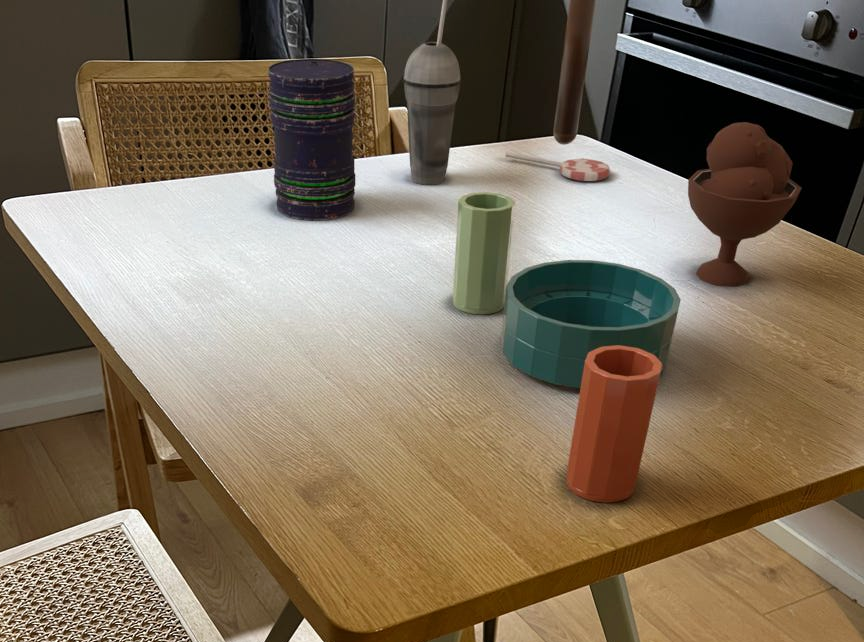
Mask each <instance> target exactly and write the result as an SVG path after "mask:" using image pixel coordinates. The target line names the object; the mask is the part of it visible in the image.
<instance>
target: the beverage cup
mask: <svg viewBox="0 0 864 642" xmlns="http://www.w3.org/2000/svg"><path fill="white" fill-rule="evenodd" d="M447 6H448V0H442V5H441V10H440V11H441V12H440V19H439V24H438V32H437V40H436V41H427V42H424V43H422V44H420V45H419V46H417V47H416V48H415V49H414V50H413V51H411V54H410V55H409V57H408V58H407V61H406V64H405V67H404V74H403V78H402V82H403V86H404V87H403V89H404V97H405V101H406V109H407V111H406V113H407V130H408V131H407V132H408V133H407V134H408V150H409V151H408V153H409V168H410V181H412V182H413V183H415V184H419V185H425V186H427V185H428V186H432V185H440V184H442V183H444V182H445V181H446V175H447V170H448V167H449V159H450V151H451V150H450V149H451V143H452V135H453V129H454V120H455V112H456V103H457V100H458V97H459V93H460V87H461V85H460V84H462V78H461V69H460V65H459V61H458V59H457V57H456V54H455V53H454V52H453V50H452V49H451V48H450V47H448V46H447V45H446V44H444V43H442V41H443V34H444V25H445V19H446V13H447Z"/></svg>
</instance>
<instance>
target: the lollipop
mask: <svg viewBox="0 0 864 642" xmlns="http://www.w3.org/2000/svg"><path fill="white" fill-rule="evenodd" d="M505 158H510V159H516V160H520V161H521V160H522V161H527V162H532V163H537V164H541V165H547V166H552V167H557V168H559V173H560V175H562V176H563V177H565V178H568V179H570V180H575V181H581V182H595V181H596V182H597V181H601V180H604V179H607V178H608V177H609V176H610V173H611V168H610V165H608V164H607V163H605V162H603V161H600V160H597V159H593V158H572V159H568V160H565V161H562V162H560V161H556V160H550V159H543V158H539V157H534V156H529V155H524V154H519V153H513V152H508V151H506V152H505Z"/></svg>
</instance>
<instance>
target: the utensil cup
mask: <svg viewBox="0 0 864 642" xmlns="http://www.w3.org/2000/svg"><path fill="white" fill-rule="evenodd" d="M661 369H662V363H661V362H660V361H659V359H658V358H657V357H656V356H655V355H653V354H651V353H649V352H646V351H644V350H642V349H639V348H634V347H627V346H621V345H616V346H604V347H599V348H597V349H595V350H593V351H591V352H589V353H588V355H587V357H586V360H585V364H584V370H583V376H582V382H581V388H579V394H578V395H579V396H578V401H577V406H576V413H575V420H574V426H573V432H572V437H571V445H570V449H569V457H568V463H567V468H566V475H565V476H566V479H565V481H566V482H565V483H566V485H567V487H568V489H569V490H570V491H571V492H572V493H574V494H575V495H576V496H579V497H580V498H583V499H585V500H587V501H592V502H595V503H607V504H608V503H618V502H621V501H623V500H624V501H625V500H626V499H628V498H629V497H631V496H632V495H633V494H634V492H635V489H636V486H637V481H638V478H639V472H640V468H641V463H642V458H643V455H644V450H645V445H646V441H647V437H648V436H647V435H648V432H649V427H650V423H651V418H652V414H653V410H654V404H655V400H656V396H657V391H658V386H659V382H660V378H661V373H662V371H661Z"/></svg>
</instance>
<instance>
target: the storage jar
mask: <svg viewBox="0 0 864 642" xmlns="http://www.w3.org/2000/svg"><path fill="white" fill-rule="evenodd" d="M267 70H268V78H269V84H268V86H269V87H268V88H269V95H268V97H269V98H268V101H269V107H270V117H269V118H270V119H271V120H270V121H271V124H272V125H273V134H274V135H273V137H274V152H275V155H274V156H275V157H274V159H273V168H274V171H273V172H274V174H273V181H274V182H273V184H274V188H275V195H276V198H277V199H276V203H275V205H276V210H277V211H278V213H280V214H281V215H283V216H285V217H288V218H292V219H295V220H296V219H297V220H301V221H329V220H334V219H339V218H343V217H346V216H347V215H350V214H352V213H353V212H354V210H355V208H356V201H355V199H354V196H355V193H356V191H355V190H356V189H355V187H356V173H355V158H354V156H353V125H354V123H355V117H356V114H355V106H356V94H355V82H354V77H355V69H354V66H352V65H351V64H349V63H346V62H343V61H339V60H334V59H325V58H324V59H323V58H297V59H296V58H295V59H289V60H282V61H279V62H275V63H273V64H271V65H270V66H268V69H267Z"/></svg>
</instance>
